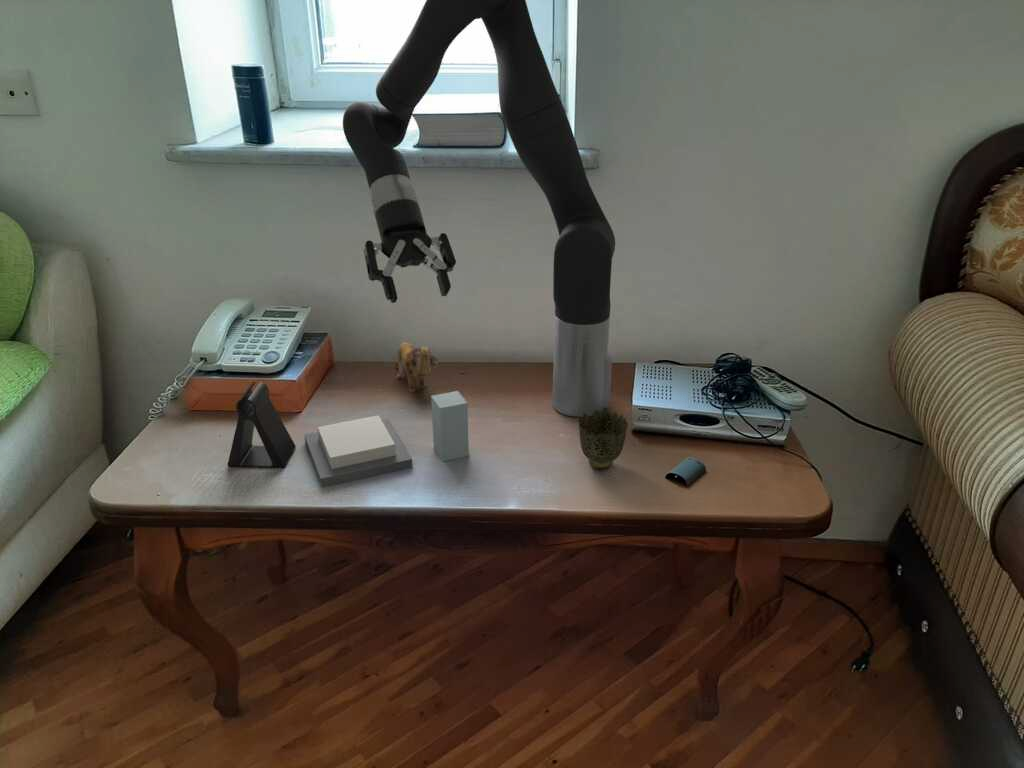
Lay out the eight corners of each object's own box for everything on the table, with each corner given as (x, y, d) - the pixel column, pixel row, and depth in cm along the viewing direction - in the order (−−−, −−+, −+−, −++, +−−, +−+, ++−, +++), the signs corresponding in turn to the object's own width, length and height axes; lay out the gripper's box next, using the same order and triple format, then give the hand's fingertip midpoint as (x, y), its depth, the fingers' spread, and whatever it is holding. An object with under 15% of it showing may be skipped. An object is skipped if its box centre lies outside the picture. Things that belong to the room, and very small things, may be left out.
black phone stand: (296, 448, 126) (286, 381, 121) (285, 468, 121) (274, 400, 116) (241, 447, 127) (229, 380, 121) (227, 467, 121) (214, 398, 116)
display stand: (388, 425, 133) (387, 407, 131) (412, 467, 121) (411, 447, 120) (305, 442, 128) (302, 423, 126) (321, 487, 117) (319, 467, 115)
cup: (593, 483, 117) (595, 437, 114) (567, 460, 123) (569, 415, 120) (634, 471, 121) (637, 425, 117) (607, 448, 126) (610, 405, 123)
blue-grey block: (459, 442, 128) (457, 390, 124) (468, 455, 125) (467, 402, 120) (433, 448, 127) (431, 395, 122) (442, 461, 123) (440, 408, 119)
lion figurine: (443, 393, 144) (441, 348, 140) (417, 400, 141) (415, 355, 137) (407, 364, 155) (404, 322, 151) (382, 371, 152) (379, 328, 148)
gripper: (357, 200, 124) (380, 292, 120) (442, 193, 129) (467, 281, 125) (351, 225, 131) (373, 313, 127) (432, 217, 136) (456, 301, 132)
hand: (420, 297), depth 126 cm, fingers open, 8 cm apart
